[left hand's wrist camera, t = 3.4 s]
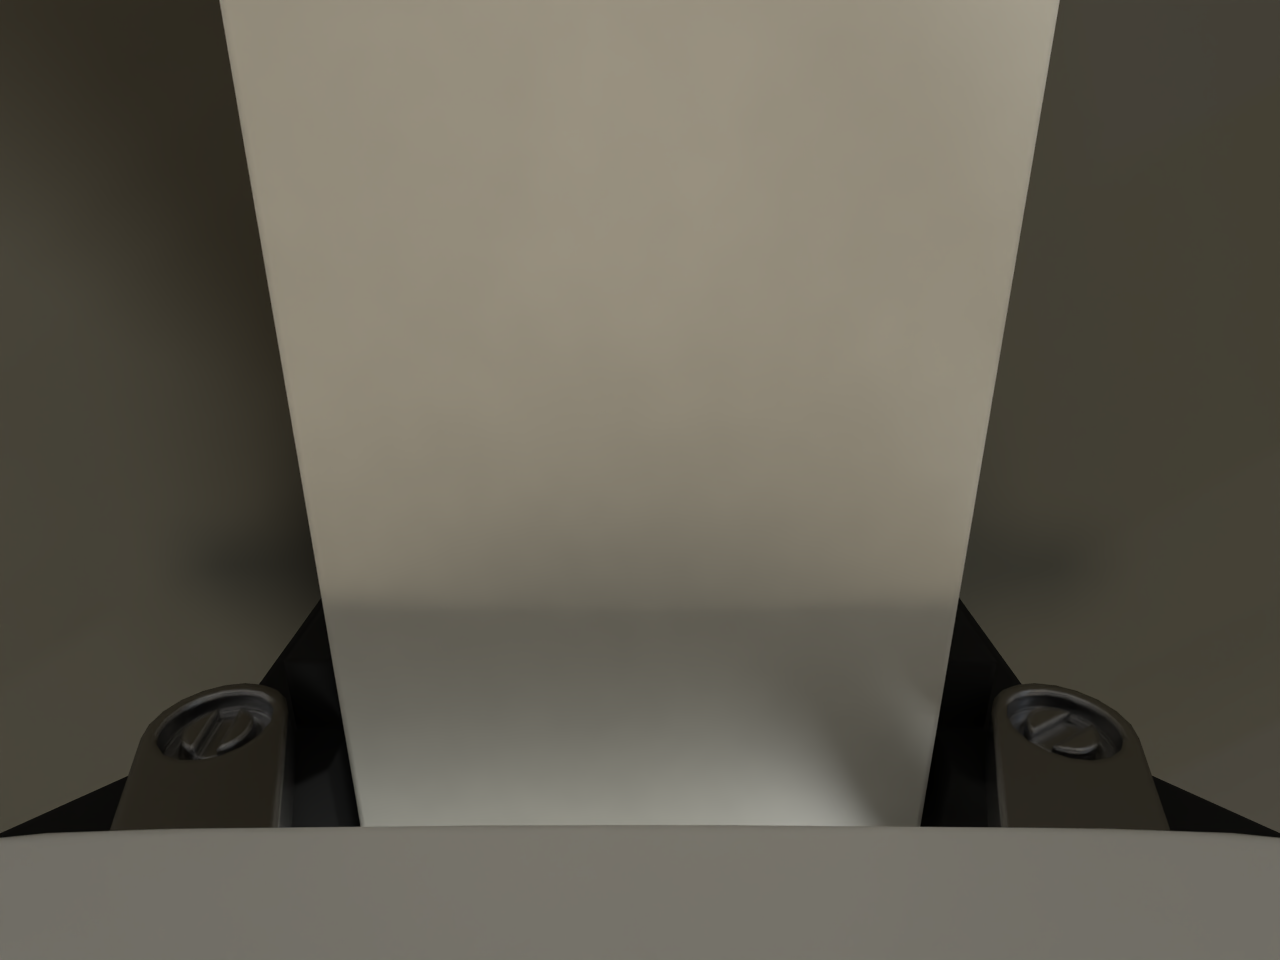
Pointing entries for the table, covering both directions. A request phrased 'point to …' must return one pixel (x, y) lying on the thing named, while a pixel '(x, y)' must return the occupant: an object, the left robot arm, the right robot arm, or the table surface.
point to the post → (639, 385)
